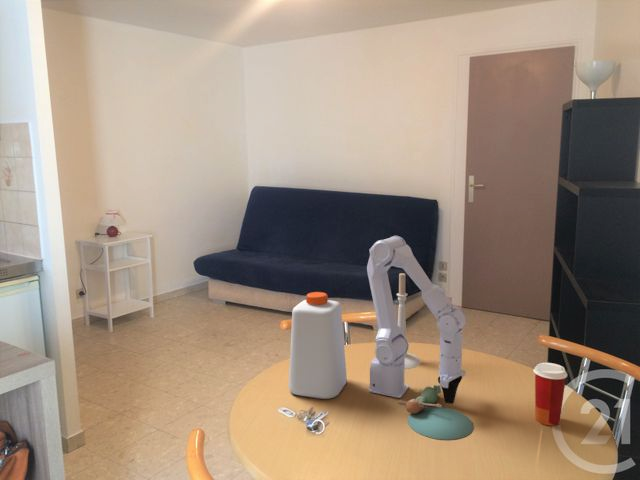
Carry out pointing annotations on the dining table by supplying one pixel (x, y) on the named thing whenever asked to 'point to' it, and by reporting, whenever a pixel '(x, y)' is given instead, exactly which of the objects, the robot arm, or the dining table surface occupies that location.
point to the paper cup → (549, 392)
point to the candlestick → (410, 359)
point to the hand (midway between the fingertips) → (449, 402)
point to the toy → (423, 400)
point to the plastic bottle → (317, 348)
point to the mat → (440, 423)
